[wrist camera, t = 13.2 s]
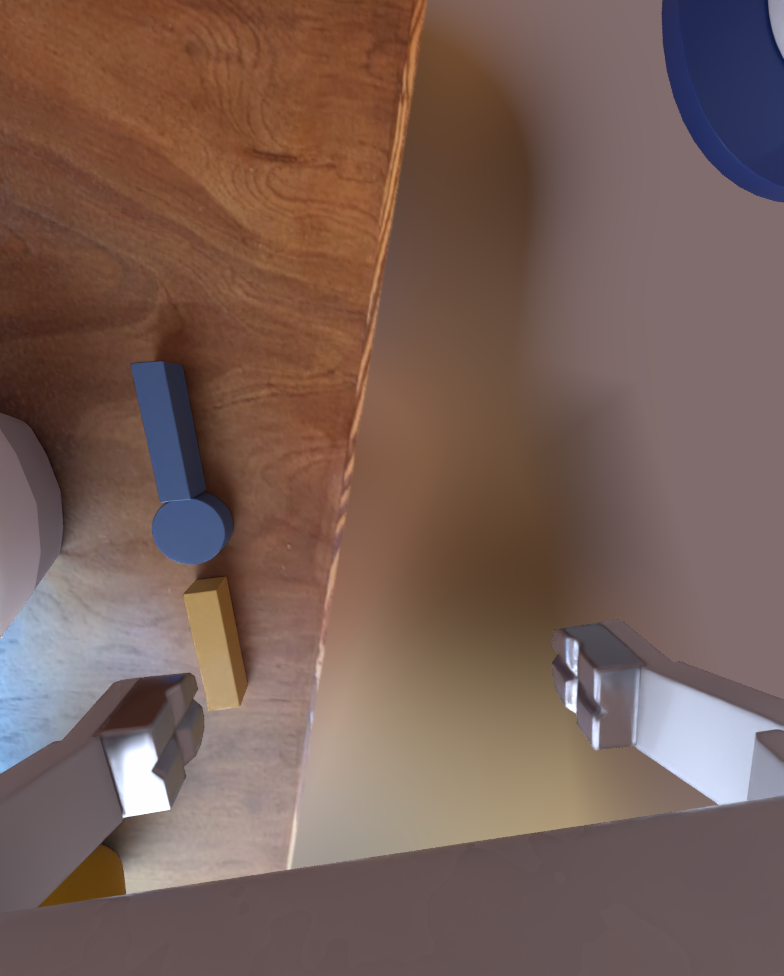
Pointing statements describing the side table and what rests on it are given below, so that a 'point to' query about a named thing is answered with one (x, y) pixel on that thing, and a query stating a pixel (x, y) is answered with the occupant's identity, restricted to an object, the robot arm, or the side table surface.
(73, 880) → the apple
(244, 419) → the side table surface
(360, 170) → the side table surface
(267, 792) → the side table surface
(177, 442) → the blue rounded-end bar
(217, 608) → the fry
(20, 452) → the bowl
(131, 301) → the side table surface
